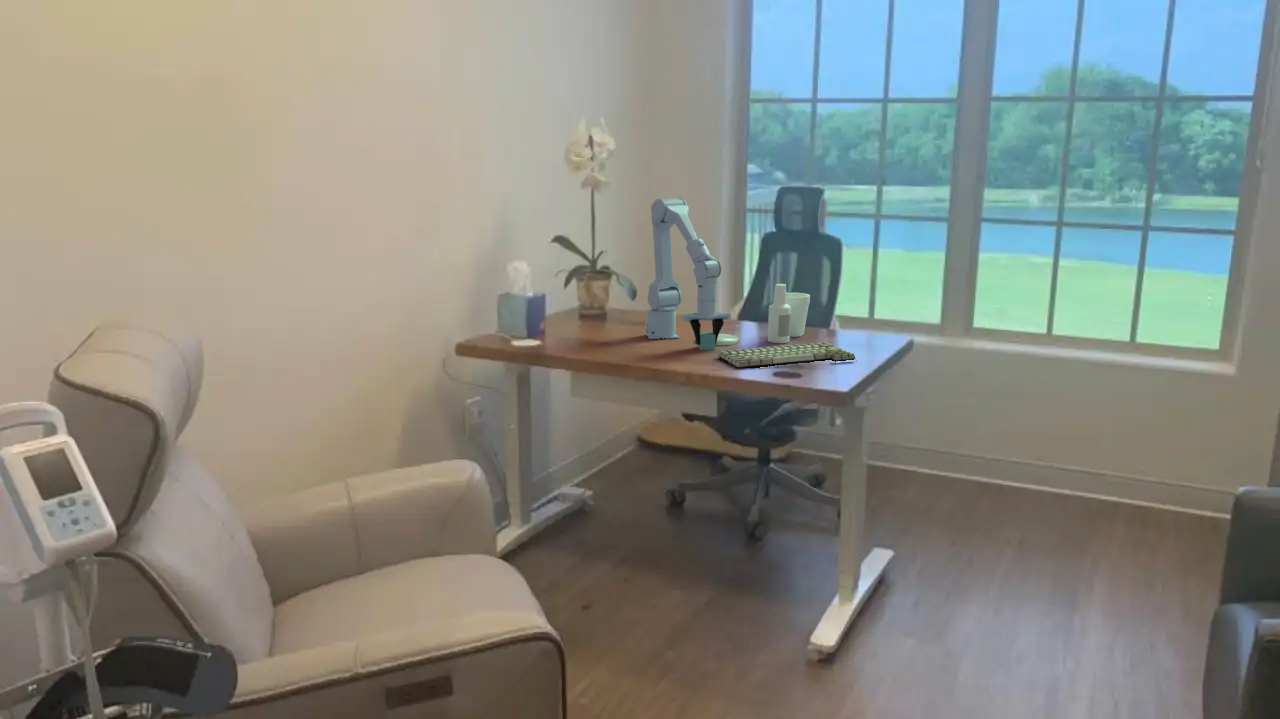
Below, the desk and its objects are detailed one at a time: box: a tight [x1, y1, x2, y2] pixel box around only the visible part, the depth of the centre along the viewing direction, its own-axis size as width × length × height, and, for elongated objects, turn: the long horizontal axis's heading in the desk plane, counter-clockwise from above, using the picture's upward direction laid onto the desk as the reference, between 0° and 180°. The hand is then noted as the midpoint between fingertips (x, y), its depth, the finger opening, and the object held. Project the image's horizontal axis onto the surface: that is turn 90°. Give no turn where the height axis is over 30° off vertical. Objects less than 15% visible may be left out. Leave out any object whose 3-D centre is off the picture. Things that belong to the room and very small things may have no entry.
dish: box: [715, 332, 739, 347], centre depth 318 cm, size 13×13×1 cm
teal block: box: [696, 331, 716, 351], centre depth 308 cm, size 4×4×4 cm
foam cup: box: [786, 292, 811, 338], centre depth 327 cm, size 10×9×13 cm
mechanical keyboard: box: [716, 341, 856, 370], centre depth 294 cm, size 38×19×3 cm, turn 110°
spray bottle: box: [767, 283, 791, 344], centre depth 317 cm, size 7×7×18 cm
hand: (706, 343), depth 308 cm, fingers closed on teal block, 4 cm apart
